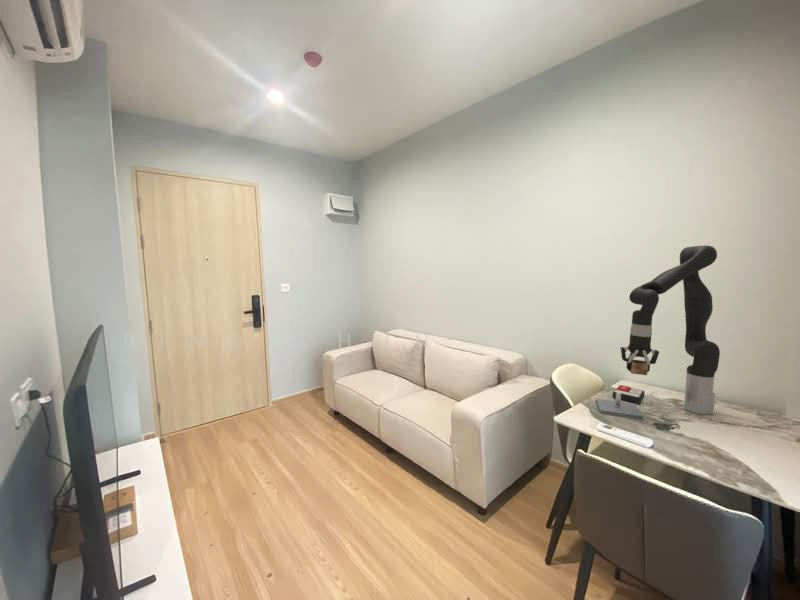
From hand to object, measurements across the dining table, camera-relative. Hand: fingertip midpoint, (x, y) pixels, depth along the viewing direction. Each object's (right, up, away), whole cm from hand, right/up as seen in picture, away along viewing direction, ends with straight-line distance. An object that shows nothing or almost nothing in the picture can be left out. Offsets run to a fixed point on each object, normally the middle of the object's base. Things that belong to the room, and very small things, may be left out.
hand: (637, 371), depth 143 cm
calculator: (+11, -18, +21) cm, 30 cm away
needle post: (-4, -17, +6) cm, 19 cm away
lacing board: (-4, -19, +7) cm, 21 cm away
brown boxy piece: (0, -1, 0) cm, 1 cm away
